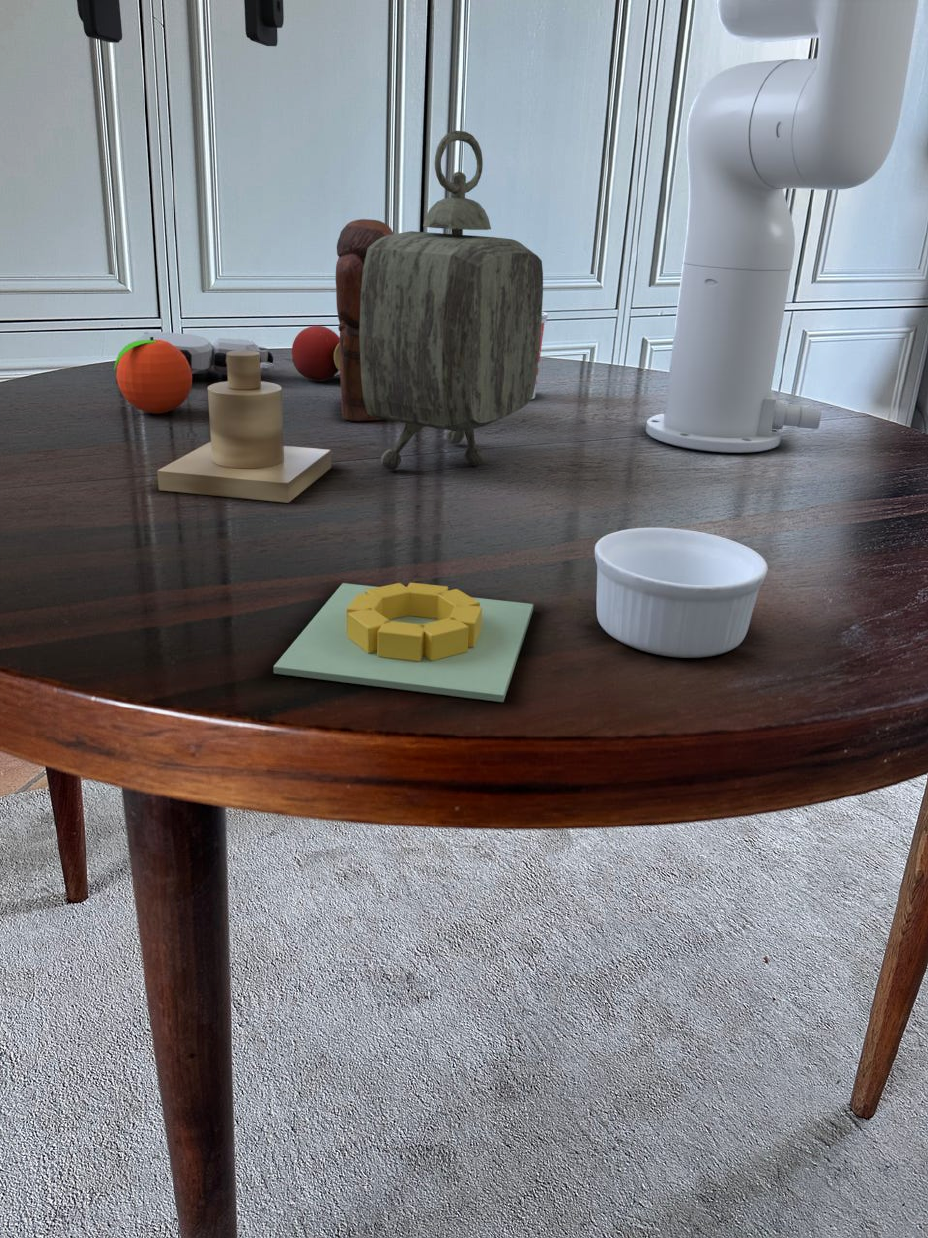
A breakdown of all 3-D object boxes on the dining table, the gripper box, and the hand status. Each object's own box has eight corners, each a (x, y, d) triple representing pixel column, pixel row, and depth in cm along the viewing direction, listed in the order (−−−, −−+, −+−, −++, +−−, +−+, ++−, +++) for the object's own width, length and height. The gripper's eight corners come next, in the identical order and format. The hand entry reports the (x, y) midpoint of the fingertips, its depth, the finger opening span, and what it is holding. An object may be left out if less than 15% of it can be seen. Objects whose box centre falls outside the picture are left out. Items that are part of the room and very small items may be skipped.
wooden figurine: (401, 424, 95) (404, 223, 88) (334, 422, 95) (332, 220, 87) (401, 399, 106) (404, 218, 99) (341, 397, 106) (339, 215, 98)
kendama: (444, 387, 119) (294, 361, 118) (453, 336, 116) (299, 308, 114) (443, 412, 113) (285, 385, 111) (453, 359, 110) (290, 330, 108)
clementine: (144, 426, 90) (136, 346, 87) (95, 414, 94) (86, 337, 91) (209, 412, 97) (205, 337, 94) (161, 402, 100) (155, 329, 97)
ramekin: (716, 595, 58) (727, 525, 56) (783, 662, 50) (798, 583, 48) (569, 599, 57) (576, 527, 55) (614, 669, 49) (624, 587, 47)
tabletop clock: (447, 437, 91) (458, 135, 81) (537, 453, 87) (560, 137, 77) (359, 472, 79) (358, 123, 69) (458, 491, 75) (473, 125, 65)
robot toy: (269, 374, 120) (140, 365, 116) (271, 336, 118) (139, 325, 115) (275, 395, 109) (132, 385, 105) (277, 353, 108) (131, 341, 104)
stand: (331, 467, 80) (329, 347, 76) (288, 503, 71) (284, 368, 67) (215, 457, 82) (207, 338, 78) (158, 490, 73) (147, 358, 69)
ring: (488, 614, 53) (489, 590, 53) (465, 668, 47) (466, 641, 47) (369, 601, 54) (369, 577, 54) (332, 652, 48) (332, 625, 48)
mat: (533, 610, 55) (533, 603, 55) (503, 702, 45) (503, 695, 45) (342, 589, 57) (342, 582, 56) (273, 673, 47) (273, 666, 47)
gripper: (-48, -382, 48) (5, 28, 55) (295, -400, 45) (304, 35, 52) (41, -311, 54) (78, 46, 61) (344, -322, 52) (346, 53, 59)
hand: (182, 41), depth 57 cm, fingers open, 9 cm apart
